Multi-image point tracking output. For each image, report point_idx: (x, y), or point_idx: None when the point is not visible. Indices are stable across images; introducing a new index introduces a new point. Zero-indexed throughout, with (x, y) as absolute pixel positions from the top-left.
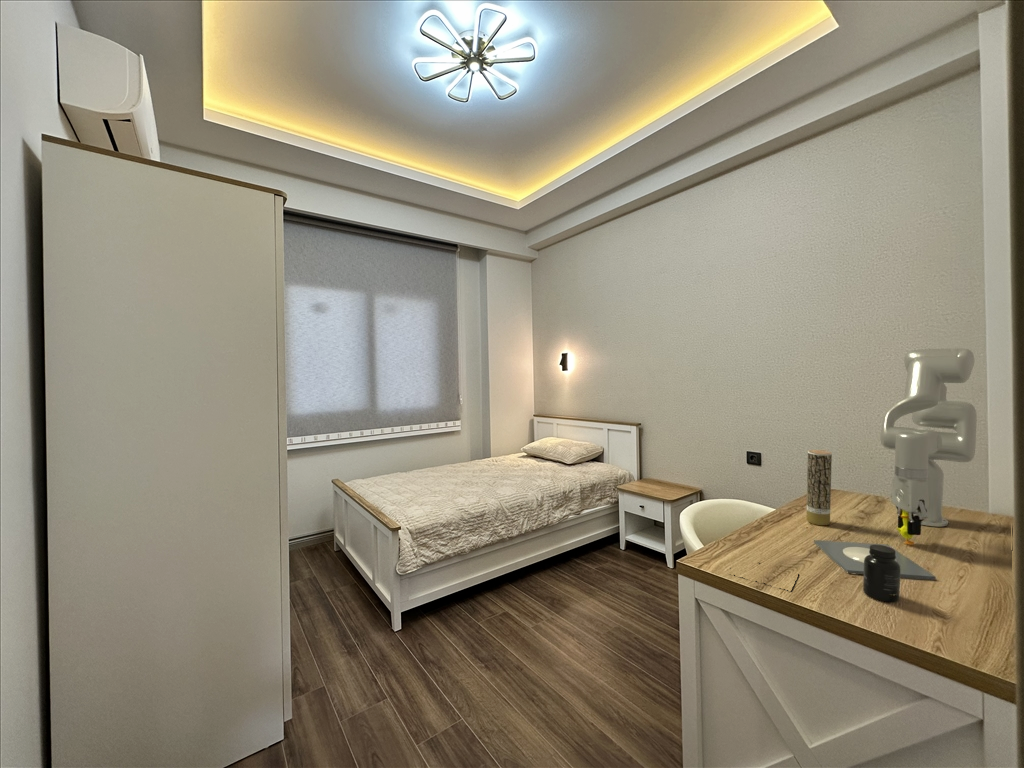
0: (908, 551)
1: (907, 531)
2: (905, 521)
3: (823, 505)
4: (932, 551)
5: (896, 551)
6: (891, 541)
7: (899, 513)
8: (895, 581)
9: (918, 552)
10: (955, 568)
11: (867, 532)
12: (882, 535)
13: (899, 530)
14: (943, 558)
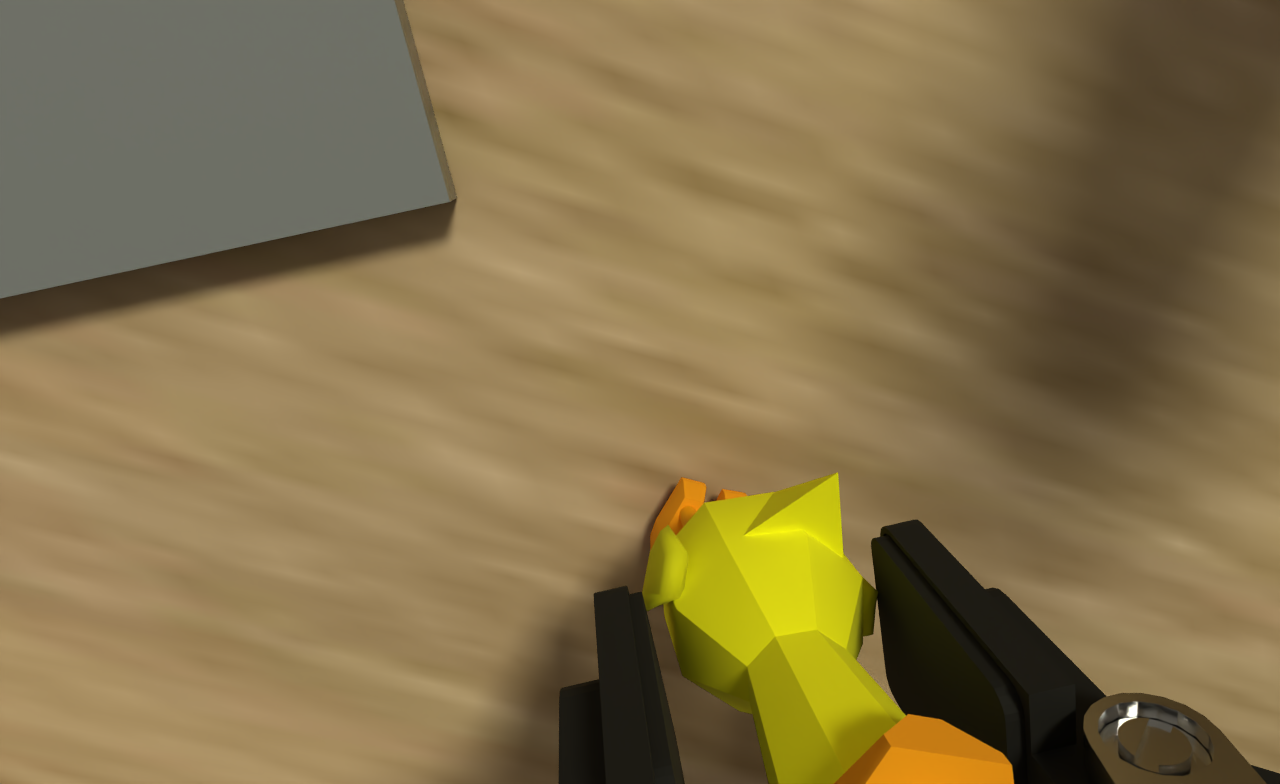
0: (431, 441)
1: (619, 607)
2: (787, 726)
3: None
4: None
5: (134, 236)
6: (782, 337)
7: (1110, 763)
8: None
9: (450, 548)
10: (49, 773)
11: (1105, 97)
12: (1012, 288)
13: (782, 504)
14: (360, 744)
